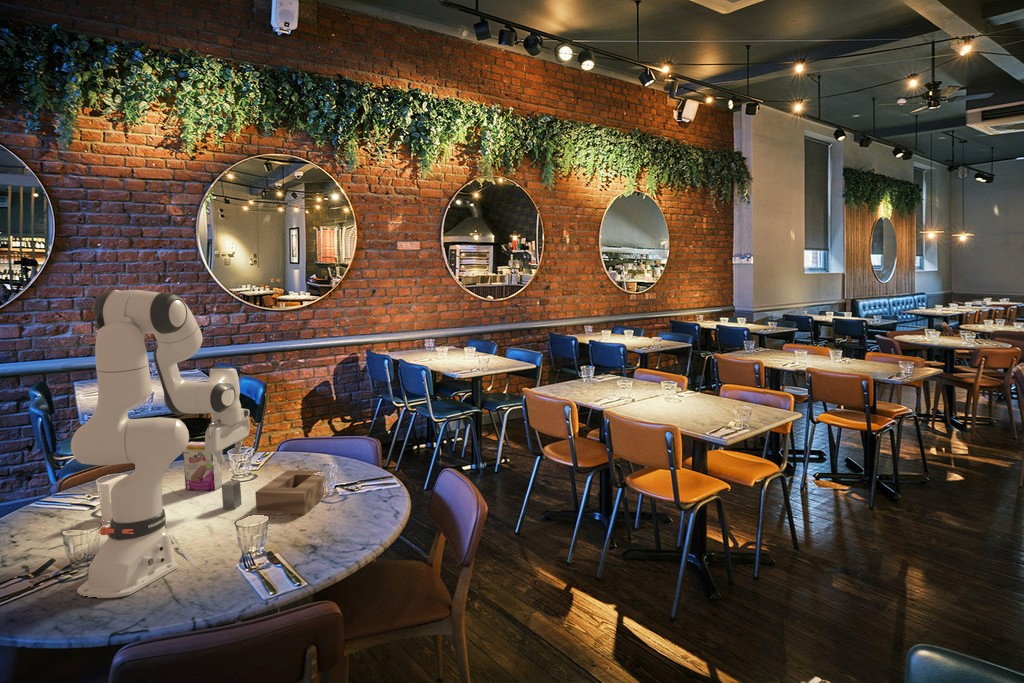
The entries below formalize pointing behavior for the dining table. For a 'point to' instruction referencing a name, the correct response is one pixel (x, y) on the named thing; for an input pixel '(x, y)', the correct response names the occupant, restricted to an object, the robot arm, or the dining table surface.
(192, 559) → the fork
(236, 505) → the gray rectangular block
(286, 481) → the walnut well
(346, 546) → the dining table surface
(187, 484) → the candy bar box
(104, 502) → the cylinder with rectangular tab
